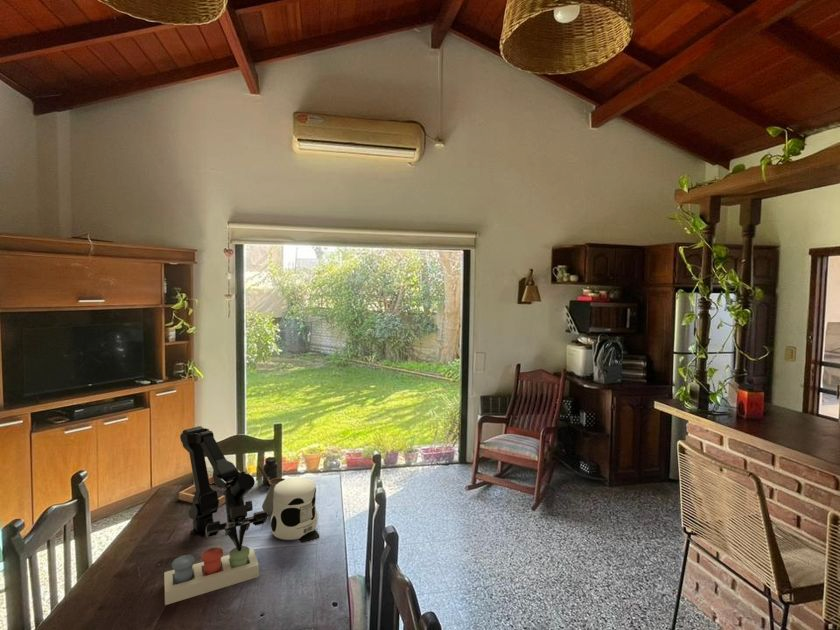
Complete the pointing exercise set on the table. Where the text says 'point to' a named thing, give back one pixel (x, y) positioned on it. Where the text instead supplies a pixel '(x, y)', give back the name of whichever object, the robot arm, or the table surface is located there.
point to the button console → (209, 579)
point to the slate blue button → (183, 568)
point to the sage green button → (239, 557)
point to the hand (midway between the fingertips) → (239, 550)
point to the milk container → (294, 509)
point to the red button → (212, 561)
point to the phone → (310, 537)
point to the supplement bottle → (270, 470)
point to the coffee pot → (269, 493)
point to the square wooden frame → (187, 493)
